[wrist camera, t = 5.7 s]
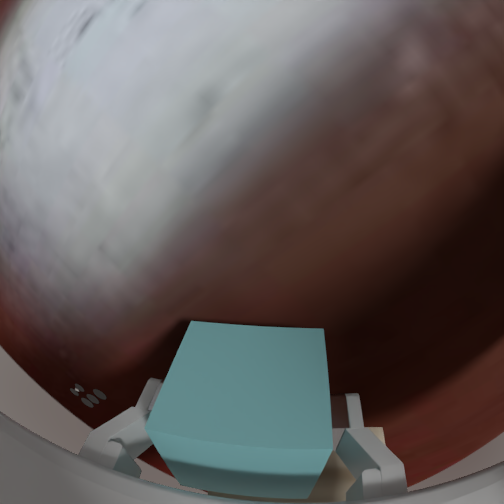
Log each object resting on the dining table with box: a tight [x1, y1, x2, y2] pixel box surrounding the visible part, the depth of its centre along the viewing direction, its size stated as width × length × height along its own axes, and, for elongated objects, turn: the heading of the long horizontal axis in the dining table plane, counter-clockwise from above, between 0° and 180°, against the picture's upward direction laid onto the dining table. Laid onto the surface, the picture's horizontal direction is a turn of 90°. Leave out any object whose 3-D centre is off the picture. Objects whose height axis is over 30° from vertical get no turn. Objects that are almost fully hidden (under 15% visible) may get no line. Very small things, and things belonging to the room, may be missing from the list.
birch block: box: [208, 427, 385, 503], centre depth 15 cm, size 10×10×6 cm
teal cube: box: [144, 321, 333, 499], centre depth 10 cm, size 5×5×5 cm
